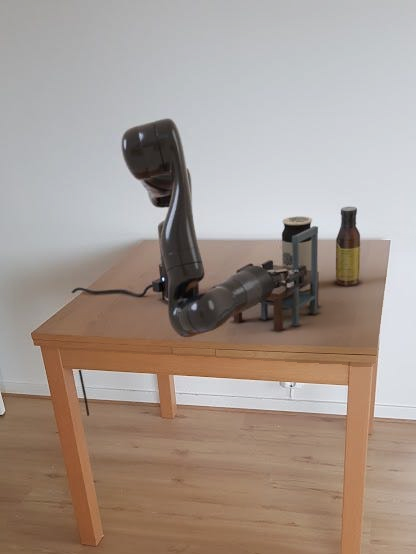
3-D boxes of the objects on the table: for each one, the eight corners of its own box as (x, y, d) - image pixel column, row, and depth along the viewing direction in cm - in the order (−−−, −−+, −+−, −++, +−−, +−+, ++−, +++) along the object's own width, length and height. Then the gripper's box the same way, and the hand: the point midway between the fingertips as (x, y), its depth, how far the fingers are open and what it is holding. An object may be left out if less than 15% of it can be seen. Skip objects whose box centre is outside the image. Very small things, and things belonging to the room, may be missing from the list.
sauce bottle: (343, 277, 187) (345, 203, 177) (363, 281, 184) (366, 205, 174) (330, 284, 183) (332, 209, 173) (351, 288, 179) (354, 211, 169)
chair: (260, 319, 165) (257, 232, 154) (282, 306, 171) (281, 222, 161) (296, 326, 159) (296, 237, 149) (318, 312, 166) (319, 226, 155)
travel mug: (302, 280, 187) (302, 214, 178) (318, 288, 181) (319, 220, 172) (277, 286, 185) (275, 219, 176) (292, 294, 178) (292, 225, 169)
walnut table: (234, 321, 165) (232, 286, 160) (274, 298, 177) (273, 264, 172) (279, 331, 158) (278, 294, 153) (318, 306, 170) (318, 271, 165)
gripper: (274, 276, 134) (316, 254, 145) (217, 267, 142) (260, 246, 153) (275, 312, 138) (316, 288, 148) (219, 301, 146) (261, 279, 156)
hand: (287, 267), depth 150 cm, fingers open, 8 cm apart
